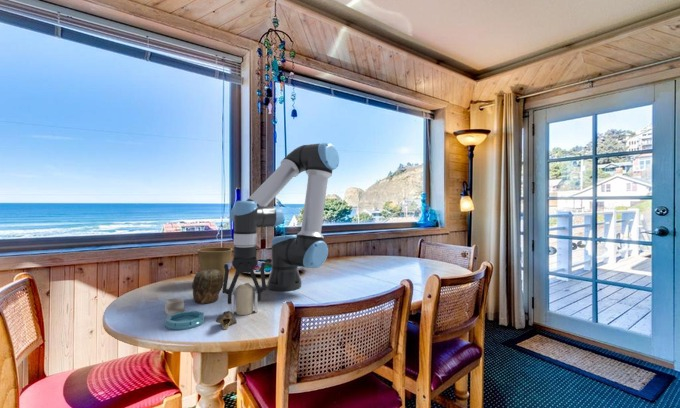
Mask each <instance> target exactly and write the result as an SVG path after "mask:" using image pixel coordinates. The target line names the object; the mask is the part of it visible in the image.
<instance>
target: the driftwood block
mask: <svg viewBox="0 0 680 408" xmlns="http://www.w3.org/2000/svg"><path fill="white" fill-rule="evenodd" d="M184 311H185V300H184V299H183V298H181V297H177V298H171V299H165V300H164V312H165V313H166V315H167V316H169V315H172V314H175V313H178V312H184Z"/></svg>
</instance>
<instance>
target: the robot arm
mask: <svg viewBox="0 0 680 408" xmlns="http://www.w3.org/2000/svg"><path fill="white" fill-rule="evenodd" d="M339 156H340V155H339V151H338V150H337V148H336V146H334V144H333V143H330V142H319V143H312V144H303V145H301V146H298V147H296V148H294V149H293V150H292V151H290V153H288V154H287V155H285V157H284V158H283V159H282V160H281V161H280V165H279V166H278V167H277V169H275V170H274V172H272V174H270V175H269V176H268V178H266V180H265V181H264V182H263V183H262V184H261V185H260V186H259V187H257V189H256V190H255V191H254V192H253V193H251V195H250V196H249V197H248V198H247V199H246V200H236V202H235V203H234V206H233V207H232V208H231V210H230V219H231V221H232V222H233V245H234V246H233V259H232V260H231V261H230V263H225V264H224V268H225V276H224V282H223V287H222V289H221V291H222V292H221V293H222V294H226V296H227V304H228V305H231V307H230V309H231V310H230V311H231V312H233V315H234V312H235V311H234V309H235V306H234V305H235V304H234V303H235V293H234V292H233V291H234V288H235V286H236V283H237V281H238V279H239V276H240V274H245V273H246V274H250V276H251V280H252V281H253V284H254V286H255V289H256V291H254V313H258V302H261V301H262V299H261V297H262V292H266V290H267V289H268V290H272V291H278V292H286V291H287V292H289V291H294V290H299V289H300V288H302V279H301V276H300V272H299V268H298V267H301V268H302V267H303V268H306V269H319V268H320V267H322V266H323V265H324V263H325V262H326V260H327V257H328V253H329V247H328V245H327V244H328V243H326V242H325V241H324V240H325V237H324V235H323V234H322V227H323V219H324V213H325V212H324V210H325V205H326V196H327V188H328V180H329V178H331V177H332V175H333V171H335V170H336V169H337V168H338V167H339V164H340V157H339ZM302 172H305V174H307V177H308V178H307V184H306V190H305V191H306V192H305V199H304V206H303V214H302V221H301V230H300V231H299V232H297V234H289V235H279V236H278V235H277V236H274V237H272V239H271V270H270V273H269V276H268V280H267V281H266V274H265V267H266V262H265V261H264V260H263V261H259V260H258V259H257V246H256V245H257V236H258V235H257V230H258V228H265V227H266V228H267V227H268V228H269V227H273V228H274V227H277V226H278V227H279V226H280V225H281V224H282V223H283V221H284V218H285V213H284V210H283V209H282V208H281V207H279V206H274V205H270V206H269V204H270V203H271V202H272V201H273V200H274V199H275V198H276V196H278V194H280V192H281V191H282V190H283V189H284V188H285V186H286V185H288V183H289V182H291V180H292V179H293V178H296V177H298V176H299V174H301V173H302ZM232 266H233V267H234V269H235V273H234V275H233V277H232V281H231V283H230V285H229V288H228V281H229V273H230V270H231V269H232ZM257 266H258V268H259V270H260V271H259V272H260V278H261V279H260V280H261V286H260V284H259V281H258V279H257V277H256V273H255V271H254V269H255V268H256V267H257ZM266 282H267V285H266Z"/></svg>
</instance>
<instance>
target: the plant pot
mask: <svg viewBox="0 0 680 408" xmlns="http://www.w3.org/2000/svg"><path fill="white" fill-rule="evenodd" d="M196 251H197V257H198V264H199V268H200V271H202V270H208V269H209V270H213V269H214V270H219V271H220V272H221V273H222V275H223V283H224V276H225V268H224V264H225V263H230V262H231V261H232V253H233V248H232V247H225V246H224V247H222V246H219V247H217V246H216V247H215V246H213V247H202V248H199V249H197V250H196Z"/></svg>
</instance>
